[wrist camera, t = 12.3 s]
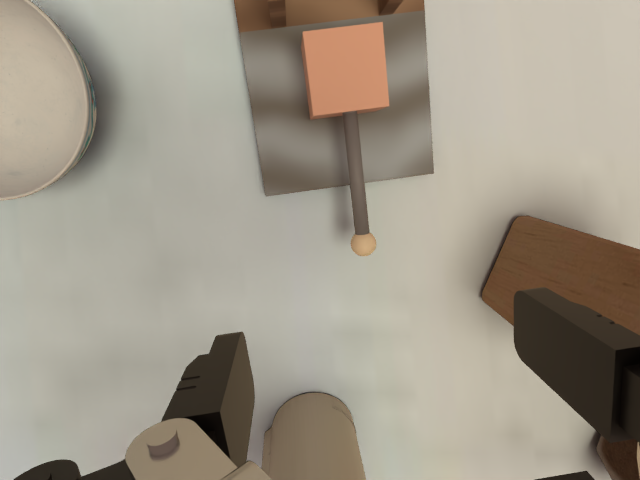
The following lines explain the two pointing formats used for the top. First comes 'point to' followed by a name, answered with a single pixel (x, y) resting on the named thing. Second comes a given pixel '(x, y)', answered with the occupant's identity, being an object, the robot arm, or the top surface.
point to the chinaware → (40, 101)
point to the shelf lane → (328, 133)
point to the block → (566, 271)
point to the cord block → (348, 98)
